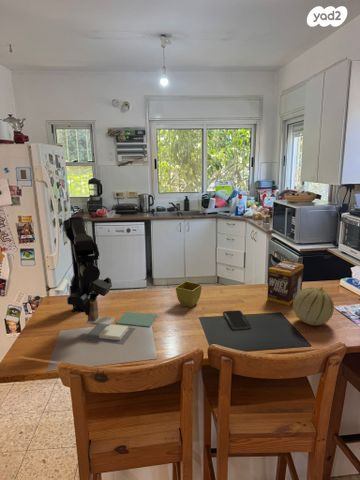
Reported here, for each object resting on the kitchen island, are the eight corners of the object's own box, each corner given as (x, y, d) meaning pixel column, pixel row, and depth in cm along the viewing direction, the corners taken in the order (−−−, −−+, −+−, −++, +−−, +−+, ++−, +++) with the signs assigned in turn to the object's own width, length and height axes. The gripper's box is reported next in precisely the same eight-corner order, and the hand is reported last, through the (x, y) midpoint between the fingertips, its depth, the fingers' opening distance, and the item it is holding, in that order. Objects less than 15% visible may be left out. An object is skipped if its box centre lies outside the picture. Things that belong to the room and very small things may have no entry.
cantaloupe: (284, 318, 136) (286, 283, 132) (312, 312, 141) (314, 278, 138) (311, 335, 123) (314, 297, 119) (340, 327, 128) (344, 290, 125)
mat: (82, 340, 121) (81, 339, 121) (97, 325, 132) (97, 324, 132) (123, 345, 117) (123, 344, 117) (135, 329, 129) (135, 328, 129)
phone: (232, 328, 127) (222, 311, 142) (232, 331, 127) (222, 313, 142) (252, 326, 128) (240, 310, 143) (252, 329, 128) (240, 312, 143)
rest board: (116, 324, 133) (116, 322, 132) (126, 314, 142) (126, 311, 142) (149, 328, 129) (149, 326, 129) (157, 317, 139) (157, 314, 139)
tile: (99, 334, 121) (119, 336, 119) (108, 324, 129) (128, 326, 127) (99, 338, 121) (119, 340, 120) (109, 327, 129) (128, 330, 127)
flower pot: (192, 310, 145) (192, 290, 143) (175, 306, 149) (175, 287, 147) (202, 303, 152) (202, 284, 150) (185, 299, 157) (185, 281, 155)
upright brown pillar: (86, 323, 123) (84, 304, 121) (93, 317, 128) (91, 298, 126) (108, 326, 121) (107, 306, 119) (114, 320, 126) (113, 300, 124)
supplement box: (266, 300, 154) (268, 267, 151) (280, 290, 166) (282, 260, 162) (288, 306, 148) (290, 272, 144) (301, 295, 159) (304, 264, 156)
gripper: (94, 283, 111) (97, 327, 114) (118, 267, 128) (120, 305, 132) (64, 281, 113) (68, 323, 117) (91, 265, 131) (94, 302, 134)
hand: (89, 313), depth 125 cm, fingers closed on upright brown pillar, 3 cm apart
